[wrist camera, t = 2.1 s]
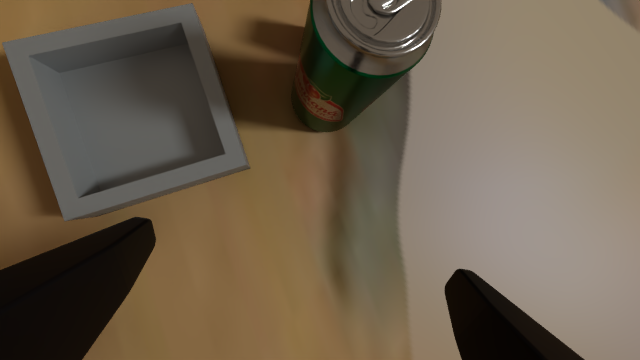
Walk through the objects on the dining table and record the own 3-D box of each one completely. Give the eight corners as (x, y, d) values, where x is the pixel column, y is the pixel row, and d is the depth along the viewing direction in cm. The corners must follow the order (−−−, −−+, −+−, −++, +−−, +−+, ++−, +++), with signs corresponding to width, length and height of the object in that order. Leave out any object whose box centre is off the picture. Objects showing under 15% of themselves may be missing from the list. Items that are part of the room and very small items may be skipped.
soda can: (276, 92, 21) (283, -30, 9) (329, 55, 22) (396, -102, 10) (318, 147, 22) (375, 94, 10) (368, 108, 22) (477, 16, 11)
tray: (250, 168, 21) (246, 164, 18) (96, 216, 19) (64, 221, 16) (203, 30, 21) (192, 3, 18) (44, 66, 19) (2, 42, 16)
